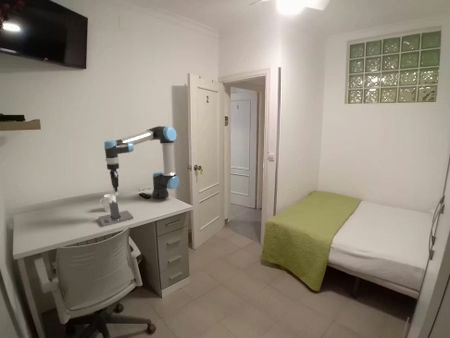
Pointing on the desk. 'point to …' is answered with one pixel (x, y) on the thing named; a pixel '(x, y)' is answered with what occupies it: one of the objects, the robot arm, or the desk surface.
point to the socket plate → (108, 220)
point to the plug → (114, 210)
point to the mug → (108, 201)
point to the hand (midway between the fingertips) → (116, 195)
